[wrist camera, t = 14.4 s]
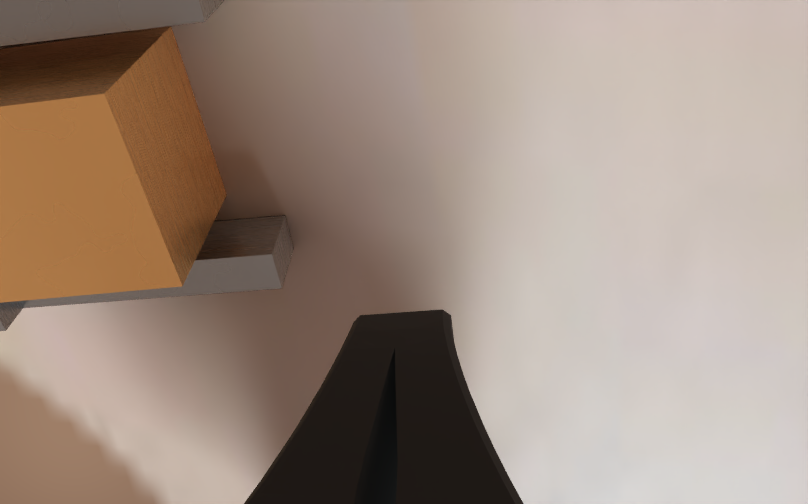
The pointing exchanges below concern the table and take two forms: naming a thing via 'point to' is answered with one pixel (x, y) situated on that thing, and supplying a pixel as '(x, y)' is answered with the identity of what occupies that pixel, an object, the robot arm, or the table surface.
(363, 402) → the robot arm
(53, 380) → the table surface
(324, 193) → the table surface
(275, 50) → the table surface
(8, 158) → the block
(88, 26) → the guide channel
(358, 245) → the table surface
